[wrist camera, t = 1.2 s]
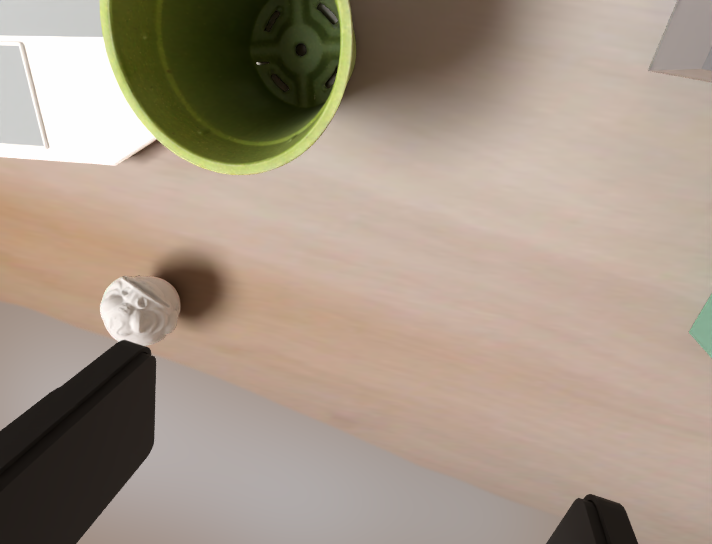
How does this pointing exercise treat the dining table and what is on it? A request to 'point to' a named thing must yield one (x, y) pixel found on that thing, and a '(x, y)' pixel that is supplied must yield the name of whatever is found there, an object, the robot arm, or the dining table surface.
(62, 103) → the laptop
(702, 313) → the big crate
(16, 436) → the robot arm
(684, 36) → the small crate
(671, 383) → the dining table surface
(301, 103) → the plant pot
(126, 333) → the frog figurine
